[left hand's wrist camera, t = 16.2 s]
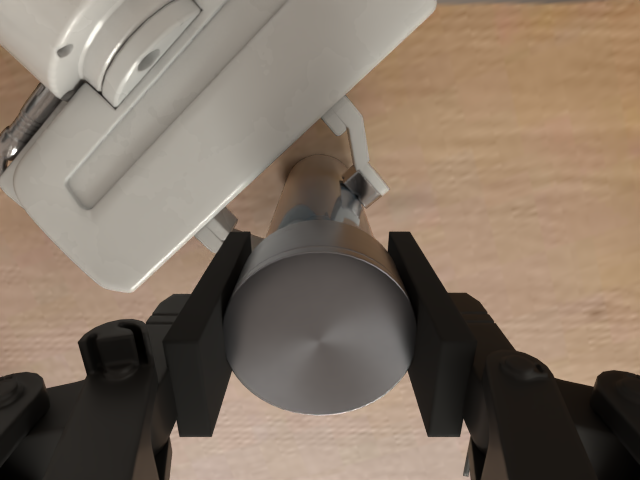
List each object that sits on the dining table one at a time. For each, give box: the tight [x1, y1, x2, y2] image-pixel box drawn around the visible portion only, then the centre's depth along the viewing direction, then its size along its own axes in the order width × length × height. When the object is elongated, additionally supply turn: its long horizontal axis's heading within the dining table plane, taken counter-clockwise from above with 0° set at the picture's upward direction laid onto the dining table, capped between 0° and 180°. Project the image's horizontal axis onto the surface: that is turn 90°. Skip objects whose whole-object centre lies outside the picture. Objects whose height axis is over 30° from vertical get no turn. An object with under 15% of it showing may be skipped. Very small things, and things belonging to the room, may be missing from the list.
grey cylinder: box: [266, 155, 374, 238], centre depth 18 cm, size 4×4×16 cm
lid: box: [222, 220, 417, 415], centre depth 11 cm, size 5×5×2 cm
